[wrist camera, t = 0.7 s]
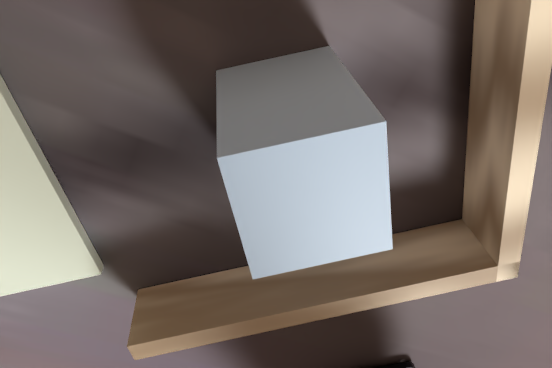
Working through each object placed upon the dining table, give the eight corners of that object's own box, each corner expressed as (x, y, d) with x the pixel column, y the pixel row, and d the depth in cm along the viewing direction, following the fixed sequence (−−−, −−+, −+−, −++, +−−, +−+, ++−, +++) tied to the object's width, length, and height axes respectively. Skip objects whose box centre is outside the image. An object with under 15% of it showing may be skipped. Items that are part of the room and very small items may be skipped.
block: (340, 145, 20) (392, 249, 14) (241, 167, 20) (252, 279, 14) (329, 45, 18) (386, 121, 12) (216, 70, 18) (216, 157, 12)
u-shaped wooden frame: (479, 229, 24) (517, 277, 21) (144, 302, 24) (134, 360, 21) (519, -219, 14) (602, -250, 11) (-55, -93, 14) (-127, -89, 11)
